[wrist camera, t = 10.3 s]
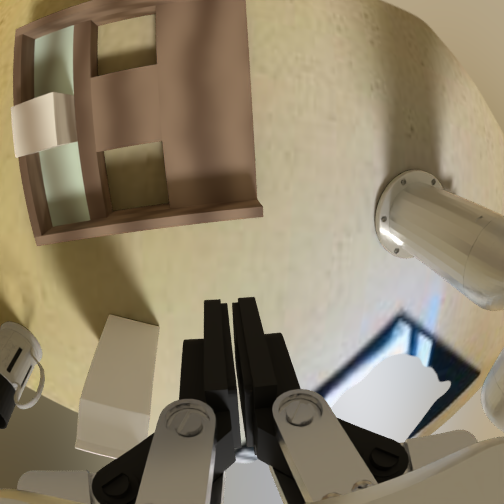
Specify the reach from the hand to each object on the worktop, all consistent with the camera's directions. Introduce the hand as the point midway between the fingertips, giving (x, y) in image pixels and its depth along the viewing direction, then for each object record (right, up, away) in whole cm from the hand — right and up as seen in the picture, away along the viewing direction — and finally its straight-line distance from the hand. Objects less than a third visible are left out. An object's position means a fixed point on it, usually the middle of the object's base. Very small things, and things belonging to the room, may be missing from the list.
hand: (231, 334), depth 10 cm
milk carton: (-16, -9, +29) cm, 34 cm away
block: (-20, +16, +14) cm, 29 cm away
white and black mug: (-34, -11, +27) cm, 44 cm away
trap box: (-12, +18, +18) cm, 28 cm away
